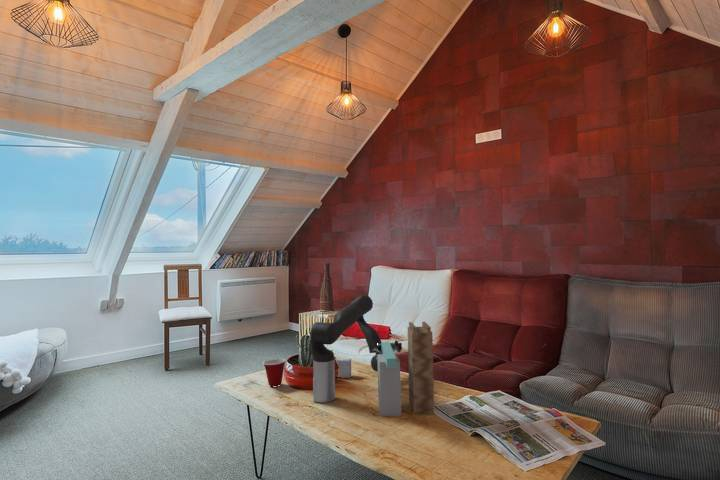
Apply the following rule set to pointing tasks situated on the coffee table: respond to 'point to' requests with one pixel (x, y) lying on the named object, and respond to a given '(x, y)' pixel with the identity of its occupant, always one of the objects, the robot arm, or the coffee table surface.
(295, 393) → the coffee table surface
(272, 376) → the plastic cup
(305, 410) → the coffee table surface
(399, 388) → the tall gray pillar
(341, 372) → the medicine box
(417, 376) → the post
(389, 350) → the bar
